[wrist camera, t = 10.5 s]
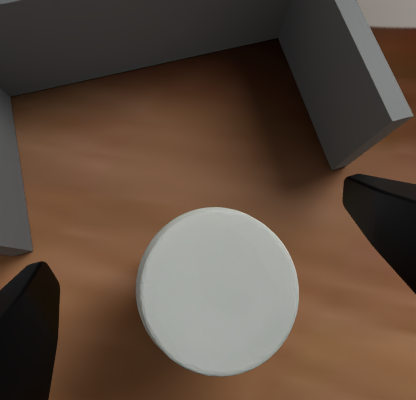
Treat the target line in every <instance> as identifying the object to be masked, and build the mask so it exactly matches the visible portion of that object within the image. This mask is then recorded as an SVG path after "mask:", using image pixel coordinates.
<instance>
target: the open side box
mask: <svg viewBox="0 0 416 400" xmlns="http://www.w3.org/2000/svg"><path fill="white" fill-rule="evenodd" d="M275 38H278V39H279V42H280V44H281V47H282V49H283V52H284V54H285V57H286V59H287V62H288V64H289V67H290V69H291V71H292V74H293V76H294V79H295V81H296V84H297V86H298V89H299V91H300V94H301V96H302V99H303V101H304V104H305V106H306V109H307V111H308V113H309V116H310V118H311V121H312V123H313V126H314V128H315V131H316V133H317V136H318V138H319V141H320V143H321V146H322V148H323V151H324V153H325V155H326V158H327V160H328V163H329V165H330V168H331V170H334V169H337V168H341V167H345V166H347V165H348V164H350V163H351V162H352V161H354V160H355V159H356V158H358V157H359V156H360V155H362V154H363V153H364V152H366V151H367V150H369V149H370V148H371V147H373V146H374V145H375V144H377V143H378V142H379V141H381V140H382V139H383V138H385V137H386V136H387V135H389V134H390V133H391V132H393V131H394V130H395V129H397V128H398V127H399V126H401V125H402V124H403V123H405V122H406V121H407V120H409V119H410V118H411V117H413V114H412V112H411V110H410V108H409V106H408V104H407V102H406V100H405V97H404V95H403V93H402V91H401V89H400V87H399V85H398V83H397V81H396V79H395V77H394V75H393V73H392V71H391V69H390V67H389V65H388V63H387V61H386V59H385V57H384V55H383V53H382V51H381V49H380V47H379V45H378V43H377V41H376V39H375V37H374V35H373V33H372V31H371V29H370V27H369V25H368V23H367V21H366V19H365V17H364V15H363V13H362V11H361V9H360V7H359V5H358V3H357V1H356V0H0V254H2V255H10V256H16V255H20V254H24V253H27V252H31V251H33V248H32V241H31V234H30V227H29V220H28V214H27V207H26V200H25V193H24V186H23V180H22V173H21V166H20V159H19V152H18V146H17V139H16V132H15V125H14V118H13V112H12V105H11V98H10V97H12V96H17V95H21V94H26V93H30V92H35V91H39V90H44V89H48V88H53V87H58V86H62V85H67V84H71V83H76V82H80V81H85V80H89V79H94V78H98V77H103V76H107V75H112V74H117V73H121V72H126V71H130V70H135V69H139V68H144V67H148V66H153V65H157V64H162V63H167V62H171V61H176V60H180V59H185V58H189V57H194V56H198V55H203V54H207V53H212V52H216V51H221V50H226V49H230V48H235V47H239V46H244V45H248V44H253V43H257V42H262V41H266V40H271V39H275Z"/></svg>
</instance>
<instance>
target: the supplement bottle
mask: <svg viewBox="0 0 416 400" xmlns="http://www.w3.org/2000/svg"><path fill="white" fill-rule="evenodd" d="M136 301H137V307H138V311H139V315H140V318H141V320H142V323H143V325H144V327H145V329H146V331H147V333H148V334H149V336H150V337H151V339H152V340H153V342H154V343H155V344H156V345H157V346H158V347H159V348H160V349H161V350H162V351H163V352H164V353H165V354H166V355H167V356H168V357H169V358H170V359H171V360H173V361H174V362H176V363H177V364H179V365H180V366H182V367H183V368H185V369H188V370H190V371H193V372H196V373H199V374H202V375H208V376H219V377H220V376H233V375H237V374H241V373H244V372H247V371H250V370H252V369H254V368H256V367H258V366H259V365H261V364H262V363H264V362H266V361H267V360H268V359H269V358H270V357H271V356H272V355H273V354H274V353H275V352H276V351H278V349H279V348H280V347H281V345H282V344H283V343H284V341H285V340H286V338H287V337H288V335H289V333H290V331H291V329H292V327H293V324H294V321H295V318H296V314H297V309H298V302H299V287H298V279H297V273H296V270H295V267H294V264H293V261H292V259H291V257H290V255H289V253H288V251H287V249H286V247H285V246H284V244H283V243H282V242H281V240H280V239H279V238H278V237H277V236H276V235H275V234H274V233H273V232H272V231H271V230H270V229H269V228H268V227H267V226H265V225H264V224H262V223H261V222H259V221H258V220H256V219H255V218H253V217H251V216H249V215H247V214H245V213H242V212H240V211H237V210H233V209H229V208H221V207H209V208H201V209H196V210H193V211H190V212H187V213H185V214H183V215H181V216H178V217H177V218H175V219H173V220H172V221H170V222H169V223H168V224H166V225H165V226H164V227H163V228H162V229H161V230H160V231H159V232H158V233H157V234H156V235H155V236H154V238H153V239H152V240H151V242H150V243H149V245H148V247H147V248H146V250H145V252H144V254H143V257H142V259H141V262H140V265H139V268H138V272H137V279H136Z"/></svg>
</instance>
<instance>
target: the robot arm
mask: <svg viewBox="0 0 416 400" xmlns="http://www.w3.org/2000/svg"><path fill="white" fill-rule="evenodd" d="M343 205H344V207H345V209H346V210H347V211H348V213H349V214H350V216H351V217H352V218H353V220H354V221H355V223H356V224H357V225H358V227H359V228H360V230H361V231H362V232H363V234H364V235H365V236H366V238H367V239H368V241H369V242H370V243H371V244H372V246H373V247H374V248H375V249H376V250H377V251H378V253H379V254H380V255H381V256H382V257H383V258H384V259H385V260H386V262H387V263H388V264H389V265H390V266H391V267H392V268H393V269H394V270H395V272H396V273H397V274H398V275H399V276H400V277H401V278H402V279H403V281H404V282H405V283H406V284H407V285H408V286H409V287H410V288H411V289H412V291H413V292H414V293H415V294H416V184H411V183H406V182H400V181H395V180H390V179H384V178H379V177H374V176H369V175H363V174H356V175H352V176H348V177H346V178H345V180H344V187H343ZM59 303H60V285H59V282H58V280H57V278H56V277H55V275H54V274H53V272H52V270H51V269H50V267H49V266H48V264H47V263H46V262H43V261H41V262H37V263H33V264H30V265H28V266H26V267H25V268H24V269H23V270H22V271H21V272H20V273H19V274H18V275H16V276H15V277H14V278H13V279H12V280H11V281H10V282H9V283H8V284H7V285H5V286H4V287H3V288H2V289H1V290H0V400H48V398H49V392H50V386H51V380H52V373H53V367H54V361H55V355H56V349H57V341H58V327H59Z"/></svg>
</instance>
